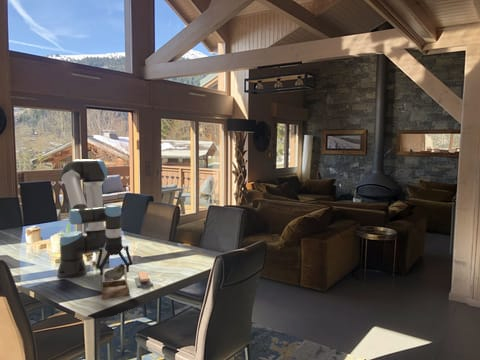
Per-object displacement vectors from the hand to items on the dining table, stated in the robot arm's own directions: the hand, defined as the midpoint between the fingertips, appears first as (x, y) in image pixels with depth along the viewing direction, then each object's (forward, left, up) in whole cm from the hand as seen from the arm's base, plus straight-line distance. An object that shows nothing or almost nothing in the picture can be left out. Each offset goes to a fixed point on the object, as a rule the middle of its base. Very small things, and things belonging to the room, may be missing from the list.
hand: (114, 279), depth 188 cm
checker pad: (+15, +7, -3) cm, 17 cm away
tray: (0, 0, -6) cm, 6 cm away
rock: (0, +4, -1) cm, 4 cm away
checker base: (+15, +7, -6) cm, 18 cm away
